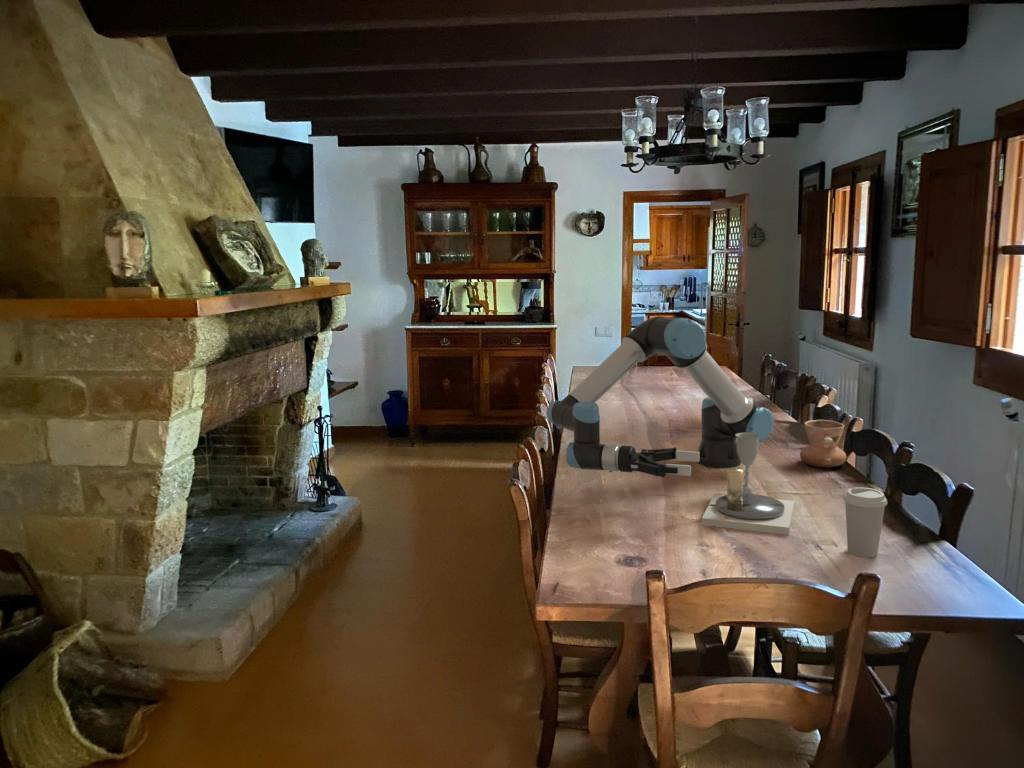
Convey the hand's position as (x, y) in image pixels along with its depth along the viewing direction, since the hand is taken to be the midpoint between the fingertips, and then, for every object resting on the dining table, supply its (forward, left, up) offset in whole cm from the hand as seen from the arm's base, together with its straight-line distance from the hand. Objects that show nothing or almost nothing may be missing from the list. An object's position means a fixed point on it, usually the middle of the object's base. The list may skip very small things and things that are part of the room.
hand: (695, 463), depth 207 cm
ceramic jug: (-63, +31, -15) cm, 72 cm away
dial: (-4, +14, -13) cm, 19 cm away
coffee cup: (+13, +42, -15) cm, 47 cm away
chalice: (-24, +11, -15) cm, 30 cm away
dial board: (-4, +14, -15) cm, 21 cm away
